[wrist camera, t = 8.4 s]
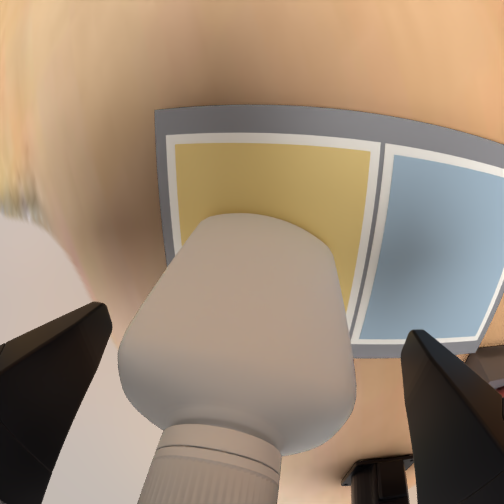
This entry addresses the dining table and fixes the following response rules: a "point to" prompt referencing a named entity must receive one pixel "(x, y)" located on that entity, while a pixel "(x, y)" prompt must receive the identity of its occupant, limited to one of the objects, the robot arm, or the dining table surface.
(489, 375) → the button housing
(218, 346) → the eye dropper bottle
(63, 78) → the dining table surface
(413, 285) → the grey flat rectangular board
